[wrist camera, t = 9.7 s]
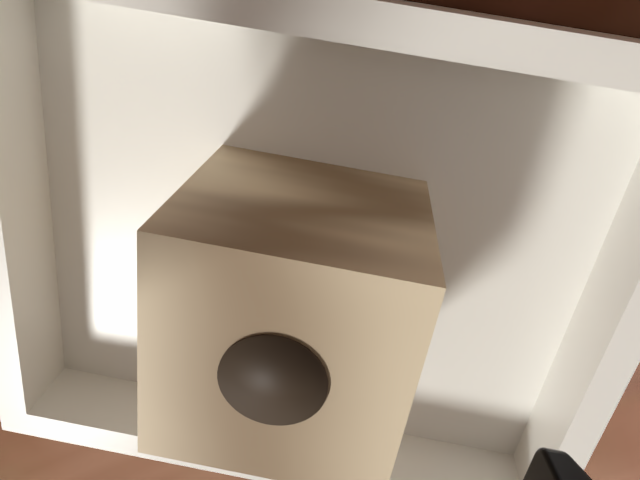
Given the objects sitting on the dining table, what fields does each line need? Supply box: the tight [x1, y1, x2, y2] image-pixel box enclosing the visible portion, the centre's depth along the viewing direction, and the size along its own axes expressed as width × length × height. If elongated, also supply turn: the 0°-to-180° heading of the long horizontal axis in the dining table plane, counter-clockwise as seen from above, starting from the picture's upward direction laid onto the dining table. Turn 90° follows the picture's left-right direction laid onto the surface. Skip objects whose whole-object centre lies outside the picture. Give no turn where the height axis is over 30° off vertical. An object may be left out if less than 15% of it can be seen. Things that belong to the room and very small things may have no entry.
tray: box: [0, 0, 640, 480], centre depth 14 cm, size 16×13×2 cm
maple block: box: [137, 145, 446, 480], centre depth 12 cm, size 5×5×5 cm
